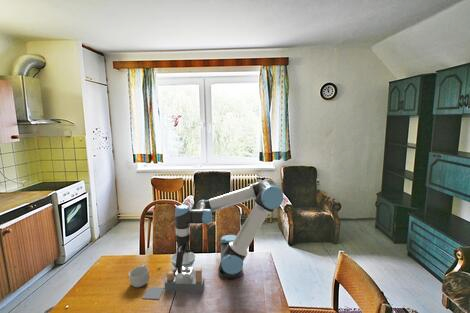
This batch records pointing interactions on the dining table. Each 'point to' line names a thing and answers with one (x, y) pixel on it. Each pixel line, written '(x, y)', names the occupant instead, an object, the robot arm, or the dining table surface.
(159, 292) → the mat
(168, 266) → the dining table surface
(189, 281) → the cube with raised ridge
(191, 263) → the chinaware
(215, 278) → the dining table surface
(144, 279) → the teacup
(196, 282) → the plane
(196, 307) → the dining table surface
